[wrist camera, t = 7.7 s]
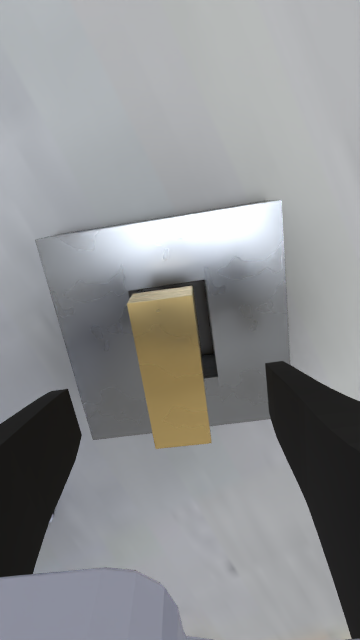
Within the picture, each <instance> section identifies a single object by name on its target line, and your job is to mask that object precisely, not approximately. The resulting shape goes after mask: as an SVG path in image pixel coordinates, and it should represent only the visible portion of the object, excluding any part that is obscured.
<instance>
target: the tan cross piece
mask: <svg viewBox="0 0 360 640" xmlns="http://www.w3.org/2000/svg"><path fill="white" fill-rule="evenodd" d="M127 306H128V311H129V316H130V321H131V326H132V332H133V337H134V342H135V347H136V352H137V357H138V362H139V367H140V372H141V377H142V382H143V387H144V392H145V397H146V402H147V407H148V413H149V418H150V423H151V428H152V433H153V438H154V443H155V448H156V449H159V448H168V447H178V446H188V445H198V444H208V443H211V434H210V425H209V417H208V409H207V401H206V393H205V383H204V374H203V364H202V354H201V345H200V337H199V329H198V322H197V314H196V306H195V298H194V290H193V286H186V287H178V288H170V289H163V290H155V291H150V292H142V293H134V294H132V296H131V298H130V299H129V301H128V303H127Z"/></svg>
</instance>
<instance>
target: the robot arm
mask: <svg viewBox="0 0 360 640" xmlns="http://www.w3.org/2000/svg"><path fill="white" fill-rule="evenodd" d="M265 369H266V381H267V394H268V407H269V414H270V418H271V421H272V424H273V427H274V430H275V433H276V437H277V439H278V441H279V443H280V445H281V448H282V450H283V452H284V454H285V456H286V459H287V461H288V463H289V465H290V467H291V469H292V471H293V473H294V476H295V478H296V480H297V482H298V484H299V486H300V489H301V491H302V493H303V495H304V498H305V500H306V502H307V505H308V507H309V510H310V513H311V516H312V519H313V522H314V525H315V527H316V530H317V533H318V536H319V539H320V542H321V545H322V548H323V551H324V554H325V557H326V560H327V563H328V566H329V569H330V572H331V575H332V578H333V581H334V584H335V587H336V590H337V593H338V596H339V600H340V603H341V606H342V609H343V612H344V615H345V618H346V622H347V625H348V628H349V631H350V635H351V638H352V639H347V640H360V401H357V400H355V399H352V398H350V397H348V396H346V395H344V394H341V393H339V392H337V391H335V390H333V389H331V388H329V387H327V386H325V385H324V384H322V383H320V382H318V381H316V380H314V379H313V378H311V377H309V376H308V375H306V374H304V373H303V372H301V371H299V370H298V369H296V368H294V367H293V366H291V365H289V364H288V363H286V362H284V361H278V362H270V363H265ZM81 436H82V434H81V431H80V428H79V424H78V421H77V418H76V415H75V411H74V408H73V405H72V401H71V398H70V395H69V391H68V389H64V390H56V391H51V392H49V393H47V394H45V395H43V396H42V397H40V398H39V399H37V400H36V401H34V402H32V403H31V404H29V405H28V406H26V407H25V408H24V409H22V410H21V411H19V412H18V413H16V414H15V415H13V416H12V417H10V418H9V419H7V420H6V421H4V422H3V423H1V424H0V640H212V639H205V638H198V637H192V636H186V635H185V633H184V631H183V627H182V622H181V618H180V614H179V610H178V607H177V605H176V604H175V602H174V601H173V599H172V598H171V596H170V595H169V593H168V592H167V590H166V589H165V587H164V586H163V585H162V584H161V583H160V582H158V581H156V580H154V579H152V578H150V577H148V576H146V575H144V574H142V573H140V572H138V571H136V570H129V569H118V568H107V567H104V568H93V569H83V570H72V571H62V572H51V573H40V574H33V571H34V568H35V564H36V561H37V558H38V554H39V551H40V548H41V545H42V542H43V538H44V535H45V532H46V530H47V527H48V524H49V523H50V522H51V521H52V519H53V517H54V515H53V512H54V510H55V507H56V505H57V503H58V500H59V498H60V496H61V493H62V491H63V489H64V486H65V484H66V482H67V479H68V477H69V474H70V472H71V469H72V467H73V465H74V462H75V459H76V456H77V452H78V448H79V444H80V440H81Z"/></svg>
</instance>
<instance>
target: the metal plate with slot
mask: <svg viewBox="0 0 360 640" xmlns="http://www.w3.org/2000/svg"><path fill="white" fill-rule="evenodd" d="M35 241H36V245H37V248H38V252H39V255H40V259H41V262H42V265H43V269H44V272H45V276H46V279H47V283H48V286H49V290H50V293H51V297H52V300H53V303H54V307H55V310H56V314H57V317H58V321H59V324H60V328H61V331H62V335H63V338H64V341H65V345H66V348H67V352H68V355H69V359H70V362H71V366H72V369H73V373H74V376H75V379H76V383H77V386H78V390H79V393H80V397H81V400H82V404H83V407H84V411H85V414H86V417H87V421H88V424H89V428H90V431H91V435H92V438H93V440H97V439H106V438H114V437H122V436H131V435H139V434H148V433H152V428H151V423H150V418H149V413H148V407H147V402H146V397H145V392H144V387H143V382H142V377H141V372H140V367H139V362H138V357H137V352H136V347H135V342H134V337H133V332H132V326H131V321H130V316H129V311H128V306H127V303H128V301H129V299H130V298H131V296H132V294H134V293H139V290H138V289H144V288H151V287H157V286H164V285H171V284H178V283H184V282H191V281H198V280H204V284H205V291H206V299H207V306H208V314H209V321H210V329H211V336H212V344H213V351H214V354H210V355H203V356H202V364H203V374H204V383H205V393H206V401H207V409H208V417H209V425H210V426H215V425H223V424H232V423H240V422H249V421H257V420H265V419H271V418H270V414H269V407H268V394H267V381H266V369H265V363H270V362H278V361H284V362H286V363H288V364H289V365H290V353H289V333H288V314H287V295H286V275H285V256H284V237H283V218H282V200H273V201H263V202H256V203H250V204H244V205H238V206H232V207H225V208H219V209H213V210H207V211H201V212H195V213H188V214H182V215H176V216H170V217H164V218H157V219H151V220H145V221H139V222H133V223H126V224H120V225H114V226H108V227H102V228H96V229H89V230H83V231H77V232H71V233H65V234H58V235H54V236H50V237H45V238H41V239H37V240H35Z"/></svg>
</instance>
